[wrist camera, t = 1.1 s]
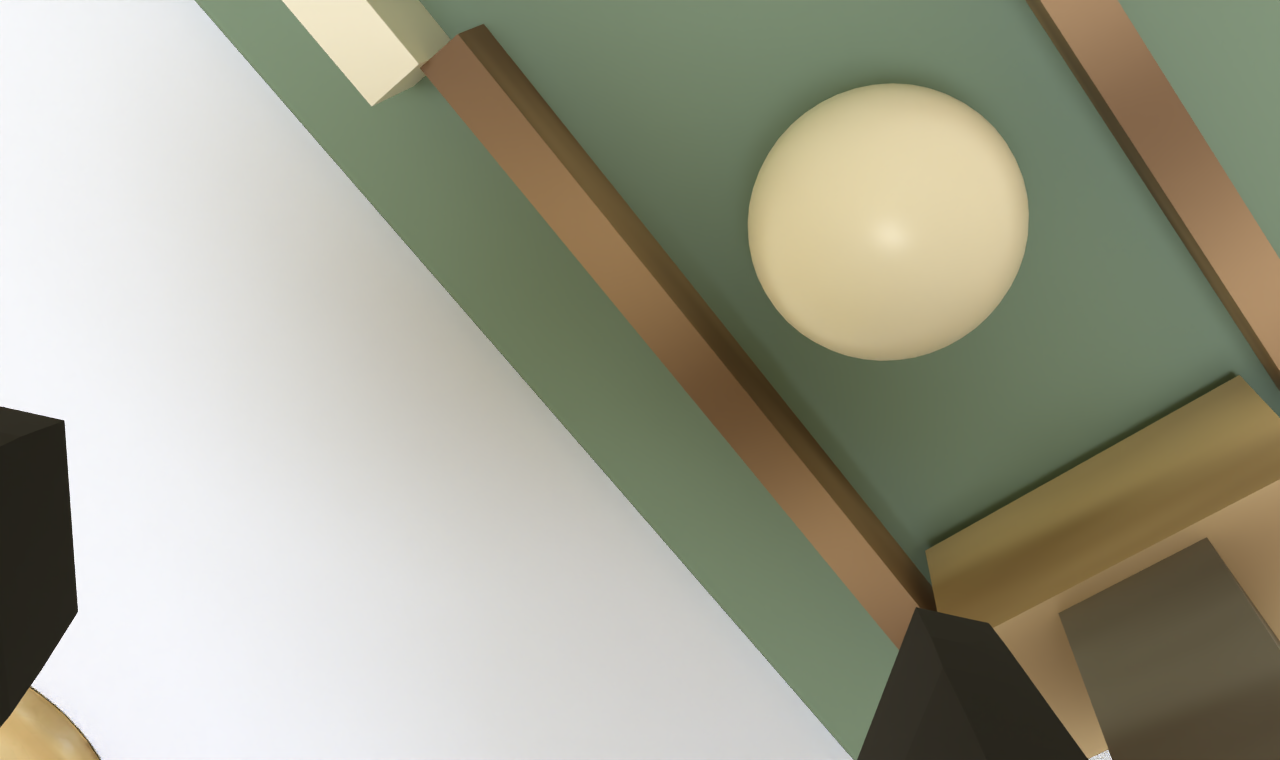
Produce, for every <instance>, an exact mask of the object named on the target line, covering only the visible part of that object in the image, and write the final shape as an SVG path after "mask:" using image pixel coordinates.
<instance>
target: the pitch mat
mask: <svg viewBox="0 0 1280 760" xmlns="http://www.w3.org/2000/svg"><path fill="white" fill-rule="evenodd" d="M195 1H196V2H197V3H198V5H199V6H200V7H201V8H202V9H203V10H204V11H205V13H206V14H207V15H208V16H209V17H210V18H211V20H212V21H213V22H214V23H215V24H216V25H217V26H218V28H219V29H220V30H221V31H222V32H223V33H224V35H225V36H226V37H227V38H228V39H229V40H230V41H231V43H232V44H233V45H234V46H235V47H236V48H237V50H238V51H239V52H240V53H241V54H242V55H243V56H244V58H245V59H246V60H247V61H248V62H249V63H250V65H251V66H252V67H253V68H254V69H255V70H256V71H257V73H258V74H259V75H260V76H261V77H262V78H263V80H264V81H265V82H266V83H267V84H268V85H269V86H270V88H271V89H272V90H273V91H274V92H275V93H276V94H277V96H278V97H279V98H280V99H281V100H282V101H283V103H284V104H285V105H286V106H287V107H288V108H289V109H290V111H291V112H292V113H293V114H294V115H295V116H296V118H297V119H298V120H299V121H300V122H301V123H302V124H303V126H304V127H305V128H306V129H307V130H308V131H309V133H310V134H311V135H312V136H313V137H314V138H315V139H316V141H317V142H318V143H319V144H320V145H321V146H322V148H323V149H324V150H325V151H326V152H327V153H328V154H329V156H330V157H331V158H332V159H333V160H334V161H335V163H336V164H337V165H338V166H339V167H340V168H341V169H342V171H343V172H344V173H345V174H346V175H347V176H348V177H349V179H350V180H351V181H352V182H353V183H354V184H355V186H356V187H357V188H358V189H359V190H360V191H361V192H362V194H363V195H364V196H365V197H366V198H367V199H368V201H369V202H370V203H371V204H372V205H373V206H374V207H375V209H376V210H377V211H378V212H379V213H380V214H381V216H382V217H383V218H384V219H385V220H386V221H387V222H388V224H389V225H390V226H391V227H392V228H393V229H394V231H395V232H396V233H397V234H398V235H399V236H400V237H401V239H402V240H403V241H404V242H405V243H406V244H407V246H408V247H409V248H410V249H411V250H412V251H413V252H414V254H415V255H416V256H417V257H418V258H419V259H420V261H421V262H422V263H423V264H424V265H425V266H426V267H427V269H428V270H429V271H430V272H431V273H432V274H433V275H434V277H435V278H436V279H437V280H438V281H439V282H440V284H441V285H442V286H443V287H444V288H445V289H446V290H447V292H448V293H449V294H450V295H451V296H452V297H453V299H454V300H455V301H456V302H457V303H458V304H459V305H460V307H461V308H462V309H463V310H464V311H465V312H466V314H467V315H468V316H469V317H470V318H471V319H472V320H473V322H474V323H475V324H476V325H477V326H478V327H479V329H480V330H481V331H482V332H483V333H484V334H485V335H486V337H487V338H488V339H489V340H490V341H491V342H492V344H493V345H494V346H495V347H496V348H497V349H498V350H499V352H500V353H501V354H502V355H503V356H504V357H505V358H506V360H507V361H508V362H509V363H510V364H511V365H512V367H513V368H514V369H515V370H516V371H517V372H518V373H519V375H520V376H521V377H522V378H523V379H524V380H525V382H526V383H527V384H528V385H529V386H530V387H531V388H532V390H533V391H534V392H535V393H536V394H537V395H538V397H539V398H540V399H541V400H542V401H543V402H544V403H545V405H546V406H547V407H548V408H549V409H550V410H551V412H552V413H553V414H554V415H555V416H556V417H557V418H558V420H559V421H560V422H561V423H562V424H563V425H564V427H565V428H566V429H567V430H568V431H569V432H570V433H571V435H572V436H573V437H574V438H575V439H576V440H577V442H578V443H579V444H580V445H581V446H582V447H583V448H584V450H585V451H586V452H587V453H588V454H589V455H590V456H591V458H592V459H593V460H594V461H595V462H596V463H597V465H598V466H599V467H600V468H601V469H602V470H603V471H604V473H605V474H606V475H607V476H608V477H609V478H610V480H611V481H612V482H613V483H614V484H615V485H616V486H617V488H618V489H619V490H620V491H621V492H622V493H623V495H624V496H625V497H626V498H627V499H628V500H629V501H630V503H631V504H632V505H633V506H634V507H635V508H636V510H637V511H638V512H639V513H640V514H641V515H642V516H643V518H644V519H645V520H646V521H647V522H648V523H649V525H650V526H651V527H652V528H653V529H654V530H655V531H656V533H657V534H658V535H659V536H660V537H661V538H662V540H663V541H664V542H665V543H666V544H667V545H668V546H669V548H670V549H671V550H672V551H673V552H674V553H675V554H676V556H677V557H678V558H679V559H680V560H681V561H682V563H683V564H684V565H685V566H686V567H687V568H688V569H689V571H690V572H691V573H692V574H693V575H694V576H695V578H696V579H697V580H698V581H699V582H700V583H701V584H702V586H703V587H704V588H705V589H706V590H707V591H708V593H709V594H710V595H711V596H712V597H713V598H714V599H715V601H716V602H717V603H718V604H719V605H720V606H721V608H722V609H723V610H724V611H725V612H726V613H727V614H728V616H729V617H730V618H731V619H732V620H733V621H734V623H735V624H736V625H737V626H738V627H739V628H740V629H741V631H742V632H743V633H744V634H745V635H746V636H747V637H748V639H749V640H750V641H751V642H752V643H753V644H754V646H755V647H756V648H757V649H758V650H759V651H760V652H761V654H762V655H763V656H764V657H765V658H766V659H767V661H768V662H769V663H770V664H771V665H772V666H773V667H774V669H775V670H776V671H777V672H778V673H779V674H780V676H781V677H782V678H783V679H784V680H785V681H786V682H787V684H788V685H789V686H790V687H791V688H792V689H793V691H794V692H795V693H796V694H797V695H798V696H799V697H800V699H801V700H802V701H803V702H804V703H805V704H806V706H807V707H808V708H809V709H810V710H811V711H812V712H813V714H814V715H815V716H816V717H817V718H818V719H819V721H820V722H821V723H822V724H823V725H824V726H825V727H826V729H827V730H828V731H829V732H830V733H831V734H832V735H833V737H834V738H835V739H836V740H837V741H838V742H839V744H840V745H841V746H842V747H843V748H844V749H845V750H846V752H847V753H848V754H849V755H850V756H851V757H852V759H853V760H857V759H858V756H859V753H860V751H861V748H862V746H863V743H864V740H865V738H866V735H867V733H868V730H869V727H870V725H871V722H872V720H873V717H874V714H875V712H876V709H877V707H878V704H879V701H880V699H881V696H882V694H883V691H884V688H885V686H886V683H887V681H888V678H889V675H890V673H891V670H892V668H893V665H894V662H895V660H896V657H897V655H898V652H899V650H898V648H897V647H896V646H895V645H894V644H893V642H892V641H891V640H890V639H889V637H888V636H887V635H886V634H885V633H884V631H883V630H882V629H881V628H880V627H879V625H878V624H877V623H876V622H875V620H874V619H873V618H872V617H871V616H870V614H869V613H868V612H867V611H866V610H865V608H864V607H863V606H862V605H861V603H860V602H859V601H858V600H857V599H856V597H855V596H854V595H853V594H852V593H851V591H850V590H849V589H848V588H847V586H846V585H845V584H844V583H843V582H842V580H841V579H840V578H839V577H838V576H837V574H836V573H835V572H834V571H833V569H832V568H831V567H830V566H829V565H828V563H827V562H826V561H825V560H824V559H823V557H822V556H821V555H820V554H819V552H818V551H817V550H816V549H815V548H814V546H813V545H812V544H811V543H810V541H809V540H808V539H807V538H806V537H805V535H804V534H803V533H802V532H801V531H800V529H799V528H798V527H797V526H796V524H795V523H794V522H793V521H792V520H791V518H790V517H789V516H788V515H787V514H786V512H785V511H784V510H783V509H782V507H781V506H780V505H779V504H778V503H777V501H776V500H775V499H774V498H773V497H772V495H771V494H770V493H769V492H768V490H767V489H766V488H765V487H764V486H763V484H762V483H761V482H760V481H759V480H758V478H757V477H756V476H755V475H754V473H753V472H752V471H751V470H750V469H749V467H748V466H747V465H746V464H745V463H744V461H743V460H742V459H741V458H740V456H739V455H738V454H737V453H736V452H735V450H734V449H733V448H732V447H731V446H730V444H729V443H728V442H727V441H726V439H725V438H724V437H723V436H722V435H721V433H720V432H719V431H718V430H717V429H716V427H715V426H714V425H713V424H712V422H711V421H710V420H709V419H708V418H707V416H706V415H705V414H704V413H703V412H702V410H701V409H700V408H699V407H698V405H697V404H696V403H695V402H694V401H693V399H692V398H691V397H690V396H689V395H688V393H687V392H686V391H685V390H684V388H683V387H682V386H681V385H680V384H679V382H678V381H677V380H676V379H675V378H674V376H673V375H672V374H671V373H670V371H669V370H668V369H667V368H666V367H665V365H664V364H663V363H662V362H661V360H660V359H659V358H658V357H657V356H656V354H655V353H654V352H653V351H652V350H651V348H650V347H649V346H648V345H647V343H646V342H645V341H644V340H643V339H642V337H641V336H640V335H639V334H638V333H637V331H636V330H635V329H634V328H633V326H632V325H631V324H630V323H629V322H628V320H627V319H626V318H625V317H624V316H623V314H622V313H621V312H620V311H619V309H618V308H617V307H616V306H615V305H614V303H613V302H612V301H611V300H610V299H609V297H608V296H607V295H606V294H605V292H604V291H603V290H602V289H601V288H600V286H599V285H598V284H597V283H596V282H595V280H594V279H593V278H592V277H591V275H590V274H589V273H588V272H587V271H586V269H585V268H584V267H583V266H582V265H581V263H580V262H579V261H578V260H577V258H576V257H575V256H574V255H573V254H572V252H571V251H570V250H569V249H568V248H567V246H566V245H565V244H564V243H563V241H562V240H561V239H560V238H559V237H558V235H557V234H556V233H555V232H554V231H553V229H552V228H551V227H550V226H549V224H548V223H547V222H546V221H545V220H544V218H543V217H542V216H541V215H540V214H539V212H538V211H537V210H536V209H535V207H534V206H533V205H532V204H531V203H530V201H529V200H528V199H527V198H526V197H525V195H524V194H523V193H522V192H521V190H520V189H519V188H518V187H517V186H516V184H515V183H514V182H513V181H512V179H511V178H510V177H509V176H508V175H507V173H506V172H505V171H504V170H503V169H502V167H501V166H500V165H499V164H498V162H497V161H496V160H495V159H494V158H493V156H492V155H491V154H490V153H489V152H488V150H487V149H486V148H485V147H484V145H483V144H482V143H481V142H480V141H479V139H478V138H477V137H476V136H475V135H474V133H473V132H472V131H471V130H470V128H469V127H468V126H467V125H466V124H465V122H464V121H463V120H462V119H461V118H460V116H459V115H458V114H457V113H456V111H455V110H454V109H453V108H452V107H451V105H450V104H449V103H448V102H447V101H446V99H445V98H444V97H443V96H442V94H441V93H440V92H439V91H438V90H437V88H436V87H435V86H434V85H433V84H432V82H431V81H430V80H429V79H428V77H427V76H425V77H423V78H422V79H421V80H420V81H419V82H418V83H417V84H416V85H414V86H413V87H411V88H409V89H407V90H405V91H403V92H401V93H399V94H396V95H394V96H392V97H390V98H388V99H386V100H384V101H382V102H380V103H378V104H376V105H374V106H371V105H370V104H369V103H368V102H367V100H366V99H365V98H364V97H363V96H362V95H361V93H360V92H359V91H358V90H357V89H356V87H355V86H354V85H353V84H352V83H351V82H350V80H349V79H348V78H347V77H346V76H345V74H344V73H343V72H342V71H341V70H340V68H339V67H338V66H337V65H336V64H335V63H334V61H333V60H332V59H331V58H330V57H329V55H328V54H327V53H326V52H325V51H324V50H323V48H322V47H321V46H320V45H319V44H318V42H317V41H316V40H315V39H314V38H313V37H312V35H311V34H310V33H309V32H308V31H307V29H306V28H305V27H304V26H303V25H302V23H301V22H300V21H299V20H298V19H297V18H296V16H295V15H294V14H293V13H292V12H291V10H290V9H289V8H288V7H287V6H286V5H285V3H284V2H283V1H282V0H195ZM419 1H420V2H421V4H422V5H423V6H424V7H425V9H426V10H427V11H428V12H429V13H430V15H431V16H432V17H433V18H434V20H435V21H436V22H437V23H438V25H439V26H440V27H441V28H442V30H443V31H444V32H445V33H446V35H447V36H448V37H449V38H450V39H451V40H452V39H453V38H454V37H455V36H456V35H457V34H459V33H461V32H464V31H467V30H469V29H472V28H474V27H477V26H479V25H482V24H484V25H485V26H486V27H487V28H488V30H489V31H490V32H491V33H492V35H493V36H494V37H495V39H496V40H497V41H498V42H499V44H500V45H501V46H502V47H503V49H504V50H505V51H506V52H507V54H508V55H509V56H510V57H511V59H512V60H513V61H514V62H515V64H516V65H517V66H518V67H519V69H520V70H521V71H522V72H523V74H524V75H525V76H526V77H527V79H528V80H529V81H530V82H531V84H532V85H533V86H534V87H535V89H536V90H537V91H538V92H539V94H540V95H541V96H542V97H543V99H544V100H545V101H546V103H547V104H548V105H549V106H550V108H551V109H552V110H553V111H554V113H555V114H556V115H557V116H558V118H559V119H560V120H561V121H562V123H563V124H564V125H565V126H566V128H567V129H568V130H569V131H570V133H571V134H572V135H573V136H574V138H575V139H576V140H577V141H578V143H579V144H580V145H581V146H582V148H583V149H584V150H585V151H586V153H587V154H588V155H589V156H590V158H591V159H592V160H593V162H594V163H595V164H596V165H597V167H598V168H599V169H600V170H601V172H602V173H603V174H604V175H605V177H606V178H607V179H608V180H609V182H610V183H611V184H612V185H613V187H614V188H615V189H616V190H617V192H618V193H619V194H620V195H621V197H622V198H623V199H624V200H625V202H626V203H627V204H628V205H629V207H630V208H631V209H632V210H633V212H634V213H635V214H636V215H637V217H638V218H639V219H640V220H641V222H642V223H643V224H644V226H645V227H646V228H647V229H648V231H649V232H650V233H651V234H652V236H653V237H654V238H655V239H656V241H657V242H658V243H659V244H660V246H661V247H662V248H663V249H664V251H665V252H666V253H667V254H668V256H669V257H670V258H671V259H672V261H673V262H674V263H675V264H676V266H677V267H678V268H679V269H680V271H681V272H682V273H683V274H684V276H685V277H686V278H687V279H688V281H689V282H690V283H691V284H692V286H693V287H694V288H695V290H696V291H697V292H698V293H699V295H700V296H701V297H702V298H703V300H704V301H705V302H706V303H707V305H708V306H709V307H710V308H711V310H712V311H713V312H714V313H715V315H716V316H717V317H718V318H719V320H720V321H721V322H722V323H723V325H724V326H725V327H726V328H727V330H728V331H729V332H730V333H731V335H732V336H733V337H734V338H735V340H736V341H737V342H738V343H739V345H740V346H741V347H742V348H743V350H744V351H745V352H746V354H747V355H748V356H749V357H750V359H751V360H752V361H753V362H754V364H755V365H756V366H757V367H758V369H759V370H760V371H761V372H762V374H763V375H764V376H765V377H766V379H767V380H768V381H769V382H770V384H771V385H772V386H773V387H774V389H775V390H776V391H777V392H778V394H779V395H780V396H781V397H782V399H783V400H784V401H785V402H786V404H787V405H788V406H789V407H790V409H791V410H792V411H793V413H794V414H795V415H796V416H797V418H798V419H799V420H800V421H801V423H802V424H803V425H804V426H805V428H806V429H807V430H808V431H809V433H810V434H811V435H812V436H813V438H814V439H815V440H816V441H817V443H818V444H819V445H820V446H821V448H822V449H823V450H824V451H825V453H826V454H827V455H828V456H829V458H830V459H831V460H832V461H833V463H834V464H835V465H836V466H837V468H838V469H839V470H840V471H841V473H842V474H843V475H844V477H845V478H846V479H847V480H848V482H849V483H850V484H851V485H852V487H853V488H854V489H855V490H856V492H857V493H858V494H859V495H860V497H861V498H862V499H863V500H864V502H865V503H866V504H867V505H868V507H869V508H870V509H871V510H872V512H873V513H874V514H875V515H876V517H877V518H878V519H879V520H880V522H881V523H882V524H883V525H884V527H885V528H886V529H887V530H888V532H889V533H890V534H891V535H892V537H893V538H894V539H895V541H896V542H897V543H898V544H899V546H900V547H901V548H902V549H903V551H904V552H905V553H906V554H907V556H908V557H909V558H910V559H911V561H912V562H913V563H914V564H915V566H916V567H917V568H918V569H919V571H920V572H921V573H922V574H923V576H924V577H925V578H926V579H927V581H928V582H929V583H930V584H931V586H932V583H931V578H930V573H929V568H928V563H927V558H926V553H925V550H927V549H929V548H931V547H933V546H934V545H936V544H938V543H940V542H942V541H943V540H945V539H947V538H949V537H951V536H952V535H954V534H956V533H958V532H959V531H961V530H963V529H965V528H967V527H968V526H970V525H972V524H974V523H976V522H977V521H979V520H981V519H983V518H984V517H986V516H988V515H990V514H992V513H993V512H995V511H997V510H999V509H1001V508H1002V507H1004V506H1006V505H1008V504H1010V503H1011V502H1013V501H1015V500H1017V499H1018V498H1020V497H1022V496H1024V495H1026V494H1027V493H1029V492H1031V491H1033V490H1035V489H1036V488H1038V487H1040V486H1042V485H1043V484H1045V483H1047V482H1049V481H1051V480H1052V479H1054V478H1056V477H1058V476H1060V475H1061V474H1063V473H1065V472H1067V471H1068V470H1070V469H1072V468H1074V467H1076V466H1077V465H1079V464H1081V463H1083V462H1085V461H1086V460H1088V459H1090V458H1092V457H1094V456H1095V455H1097V454H1099V453H1101V452H1102V451H1104V450H1106V449H1108V448H1110V447H1111V446H1113V445H1115V444H1117V443H1119V442H1120V441H1122V440H1124V439H1126V438H1127V437H1129V436H1131V435H1133V434H1135V433H1136V432H1138V431H1140V430H1142V429H1144V428H1145V427H1147V426H1149V425H1151V424H1153V423H1154V422H1156V421H1158V420H1160V419H1161V418H1163V417H1165V416H1167V415H1169V414H1170V413H1172V412H1174V411H1176V410H1178V409H1179V408H1181V407H1183V406H1185V405H1186V404H1188V403H1190V402H1192V401H1194V400H1195V399H1197V398H1199V397H1201V396H1203V395H1204V394H1206V393H1208V392H1210V391H1212V390H1213V389H1215V388H1217V387H1219V386H1220V385H1222V384H1224V383H1226V382H1228V381H1229V380H1231V379H1233V378H1235V377H1237V376H1238V375H1240V376H1241V377H1242V378H1243V379H1244V380H1245V381H1246V382H1247V383H1248V385H1249V386H1250V387H1251V388H1252V389H1253V390H1254V391H1255V392H1256V393H1257V394H1258V395H1259V396H1260V397H1261V398H1262V399H1263V401H1264V402H1265V403H1266V404H1267V405H1268V406H1269V407H1270V408H1271V409H1272V410H1273V411H1274V412H1275V413H1276V414H1277V415H1278V417H1279V418H1280V391H1279V390H1278V388H1277V386H1276V385H1275V383H1274V382H1273V380H1272V379H1271V377H1270V376H1269V374H1268V373H1267V371H1266V370H1265V368H1264V366H1263V365H1262V363H1261V362H1260V360H1259V359H1258V357H1257V356H1256V354H1255V353H1254V351H1253V350H1252V348H1251V346H1250V345H1249V343H1248V342H1247V340H1246V339H1245V337H1244V336H1243V334H1242V333H1241V331H1240V330H1239V328H1238V326H1237V325H1236V323H1235V322H1234V320H1233V319H1232V317H1231V316H1230V314H1229V313H1228V311H1227V310H1226V308H1225V306H1224V305H1223V303H1222V302H1221V300H1220V299H1219V297H1218V296H1217V294H1216V293H1215V291H1214V290H1213V288H1212V287H1211V285H1210V283H1209V282H1208V280H1207V279H1206V277H1205V276H1204V274H1203V273H1202V271H1201V270H1200V268H1199V267H1198V265H1197V263H1196V262H1195V260H1194V259H1193V257H1192V256H1191V254H1190V253H1189V251H1188V250H1187V248H1186V247H1185V245H1184V243H1183V242H1182V240H1181V239H1180V237H1179V236H1178V234H1177V233H1176V231H1175V230H1174V228H1173V227H1172V225H1171V223H1170V222H1169V220H1168V219H1167V217H1166V216H1165V214H1164V213H1163V211H1162V210H1161V208H1160V207H1159V205H1158V203H1157V202H1156V200H1155V199H1154V197H1153V196H1152V194H1151V193H1150V191H1149V190H1148V188H1147V187H1146V185H1145V183H1144V182H1143V180H1142V179H1141V177H1140V176H1139V174H1138V173H1137V171H1136V170H1135V168H1134V167H1133V165H1132V164H1131V162H1130V160H1129V159H1128V157H1127V156H1126V154H1125V153H1124V151H1123V150H1122V148H1121V147H1120V145H1119V144H1118V142H1117V140H1116V139H1115V137H1114V136H1113V134H1112V133H1111V131H1110V130H1109V128H1108V127H1107V125H1106V124H1105V122H1104V120H1103V119H1102V117H1101V116H1100V114H1099V113H1098V111H1097V110H1096V108H1095V107H1094V105H1093V104H1092V102H1091V100H1090V99H1089V97H1088V96H1087V94H1086V93H1085V91H1084V90H1083V88H1082V87H1081V85H1080V84H1079V82H1078V80H1077V79H1076V77H1075V76H1074V74H1073V73H1072V71H1071V70H1070V68H1069V67H1068V65H1067V64H1066V62H1065V61H1064V59H1063V57H1062V56H1061V54H1060V53H1059V51H1058V50H1057V48H1056V47H1055V45H1054V44H1053V42H1052V41H1051V39H1050V37H1049V36H1048V34H1047V33H1046V31H1045V30H1044V28H1043V27H1042V25H1041V24H1040V22H1039V21H1038V19H1037V17H1036V16H1035V14H1034V13H1033V11H1032V10H1031V8H1030V7H1029V5H1028V4H1027V2H1026V1H1025V0H419ZM1118 2H1119V3H1120V5H1121V6H1122V8H1123V10H1124V11H1125V13H1126V14H1127V16H1128V18H1129V19H1130V21H1131V22H1132V24H1133V26H1134V27H1135V29H1136V30H1137V32H1138V34H1139V35H1140V37H1141V38H1142V40H1143V42H1144V43H1145V45H1146V46H1147V48H1148V50H1149V51H1150V53H1151V54H1152V56H1153V58H1154V59H1155V61H1156V62H1157V64H1158V66H1159V67H1160V69H1161V70H1162V72H1163V74H1164V75H1165V77H1166V78H1167V80H1168V81H1169V83H1170V85H1171V86H1172V88H1173V89H1174V91H1175V93H1176V94H1177V96H1178V97H1179V99H1180V101H1181V102H1182V104H1183V105H1184V107H1185V109H1186V110H1187V112H1188V113H1189V115H1190V117H1191V118H1192V120H1193V121H1194V123H1195V125H1196V126H1197V128H1198V129H1199V131H1200V133H1201V134H1202V136H1203V137H1204V139H1205V141H1206V142H1207V144H1208V145H1209V147H1210V149H1211V150H1212V152H1213V153H1214V155H1215V157H1216V158H1217V160H1218V161H1219V163H1220V165H1221V166H1222V168H1223V169H1224V171H1225V172H1226V174H1227V176H1228V177H1229V179H1230V180H1231V182H1232V184H1233V185H1234V187H1235V188H1236V190H1237V192H1238V193H1239V195H1240V196H1241V198H1242V200H1243V201H1244V203H1245V204H1246V206H1247V208H1248V209H1249V211H1250V212H1251V214H1252V216H1253V217H1254V219H1255V220H1256V222H1257V224H1258V225H1259V227H1260V228H1261V230H1262V232H1263V233H1264V235H1265V236H1266V238H1267V240H1268V241H1269V243H1270V244H1271V246H1272V248H1273V249H1274V251H1275V252H1276V254H1277V256H1278V257H1279V259H1280V0H1118ZM889 83H896V84H911V85H916V86H921V87H926V88H930V89H933V90H936V91H939V92H942V93H945V94H947V95H949V96H951V97H953V98H955V99H957V100H959V101H961V102H963V103H965V104H966V105H968V106H969V107H970V108H972V109H973V110H975V111H976V112H978V113H979V114H980V115H982V116H983V117H984V118H985V119H986V120H987V121H988V122H989V123H990V124H991V125H992V126H993V127H994V128H995V129H996V130H997V132H998V133H999V134H1000V135H1001V137H1002V138H1003V139H1004V140H1005V142H1006V143H1007V145H1008V147H1009V149H1010V150H1011V152H1012V154H1013V156H1014V157H1015V159H1016V161H1017V164H1018V166H1019V169H1020V171H1021V174H1022V176H1023V180H1024V184H1025V188H1026V192H1027V198H1028V209H1029V222H1028V237H1027V243H1026V248H1025V253H1024V256H1023V259H1022V262H1021V265H1020V268H1019V271H1018V273H1017V275H1016V277H1015V279H1014V281H1013V283H1012V285H1011V287H1010V288H1009V290H1008V291H1007V293H1006V294H1005V296H1004V297H1003V299H1002V301H1001V302H1000V303H999V305H998V306H997V307H996V308H995V309H994V310H993V312H992V313H991V314H990V315H989V316H988V317H987V318H986V319H985V320H984V321H983V322H982V323H981V324H980V325H979V326H977V327H976V328H975V329H974V330H972V331H971V332H970V333H968V334H967V335H965V336H964V337H963V338H961V339H959V340H958V341H956V342H954V343H952V344H950V345H948V346H947V347H944V348H942V349H939V350H937V351H934V352H932V353H929V354H925V355H922V356H918V357H914V358H908V359H902V360H888V361H877V360H866V359H860V358H855V357H850V356H846V355H843V354H840V353H837V352H834V351H832V350H830V349H828V348H825V347H823V346H821V345H819V344H817V343H815V342H813V341H812V340H810V339H809V338H807V337H806V336H804V335H803V334H801V333H800V332H799V331H797V330H796V329H795V328H794V327H793V326H792V325H791V324H789V323H788V322H787V321H786V320H785V319H784V317H783V316H782V315H781V314H780V313H779V312H778V311H777V309H776V308H775V307H774V305H773V304H772V302H771V301H770V299H769V298H768V296H767V295H766V293H765V291H764V289H763V287H762V285H761V283H760V281H759V279H758V277H757V274H756V271H755V268H754V265H753V262H752V258H751V252H750V247H749V239H748V213H749V204H750V199H751V195H752V190H753V187H754V184H755V181H756V179H757V176H758V173H759V171H760V169H761V167H762V165H763V163H764V161H765V159H766V157H767V155H768V153H769V152H770V150H771V149H772V147H773V146H774V145H775V143H776V142H777V140H778V139H779V138H780V136H781V135H782V134H783V133H784V132H785V131H786V130H787V129H788V128H789V126H790V125H791V124H793V123H794V122H795V121H796V120H797V119H798V118H800V117H801V116H802V115H803V114H804V113H805V112H807V111H809V110H810V109H812V108H813V107H815V106H816V105H818V104H819V103H821V102H823V101H825V100H827V99H829V98H831V97H833V96H835V95H837V94H840V93H843V92H846V91H849V90H852V89H855V88H859V87H864V86H869V85H875V84H889Z"/></svg>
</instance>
